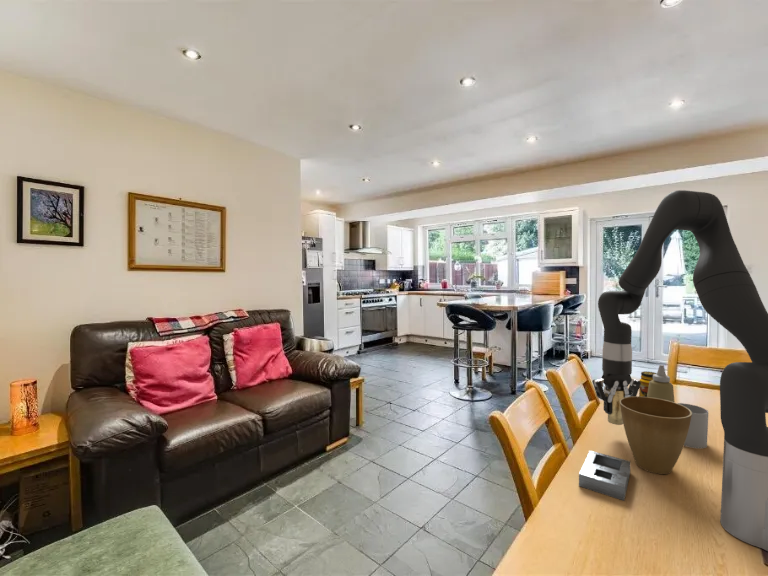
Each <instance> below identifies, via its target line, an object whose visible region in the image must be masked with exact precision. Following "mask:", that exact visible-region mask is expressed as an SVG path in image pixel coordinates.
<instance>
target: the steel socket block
mask: <svg viewBox="0 0 768 576" xmlns="http://www.w3.org/2000/svg"><path fill="white" fill-rule="evenodd" d="M630 475H631V460H627V459H623V458H619V457H616V456H612V455H609V454H605V453H601V452H597V451H593V450H588V453H587V455H586V457H585V460H584V462H583V464H582V466H581V469H580V470H579V473H578V487H581V488H583V489H587V490H590V491H592V492H595V493H598V494H602V495H605V496H608V497H612V498H614V499H618V500H620V501H625V499H626V494H627V490H628V485H629V480H630Z"/></svg>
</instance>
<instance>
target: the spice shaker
mask: <svg viewBox="0 0 768 576" xmlns="http://www.w3.org/2000/svg"><path fill="white" fill-rule="evenodd" d="M608 391H611V390H609V389H608ZM622 398H624V391H621V387H617V389H616V392H615V395H614V396H613V398H612V401H611V402H612V414H607V422H608V423H609V424H611V425H616V426H621V425H624V424H623V420H622V414H621V408H620V400H621V399H622Z"/></svg>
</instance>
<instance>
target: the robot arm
mask: <svg viewBox="0 0 768 576" xmlns="http://www.w3.org/2000/svg"><path fill="white" fill-rule="evenodd" d="M675 230H677V231H678V230H679V231H689V232H691V233H692V234H693V237H694V238H695V240H696V243H697V245H698V248H699V256H698V259H697V262H696V264H695V266H694V271H693V273H692V283H693V286H694V289H695V291H696V292H695V293H696V294H697V297H698V299H699V302H700V305H701V306H702V307H703V309H704V310H705V312H706V313H707V314H708V315H709V316H710V317H711V318H712V319H713V320H714V321H716V323H718V324H720V326H721V327H723V328H724V329H725V330H726V331H728V332H729V333H730V334H731V335H732V336H733V337H734V338H736V340H738V341H739V342H740V344H741V345H742V346H743V348H744V349H745V351H746V353H747V355H748V357H749V359H750V360H751V361H748V362H747V361H746V362H745V361H736V362H735V361H734V362H732V363H728V364H727V365H726V366H725V367H724V368H723V370H722V372H721V375H720V378H719V401H720V402H719V403H720V405H719V407H720V409H719V410H720V422H721V426H722V428H723V429H722V430H723V434H724V435H723V453H722V455H723V457H722V473H721V475H722V476H721V477H722V478H721V498H720V499H721V501H720V503H721V504H720V524H721V526H722V527H723V529H724V530H725V531H726V532H728V533H729V534H730V535H732V536H733V537H734V538H737V539H738V540H740V541H742V542H744V543H746V544H749V545H751V546H754V547H757V548H760V549H763V550H765V551H767V552H768V426H767V418H766V417H767V416H766V415H767V414H768V310H767V308H766V307H765V305H764V303H763V301H762V298H761V295H760V294H759V291H758V289H757V286H756V284H755V282H754V280H753V278H752V276H751V274H750V272H749V270H748V269H747V267H746V265H745V263H744V261H743V259H742V257H741V254H740V252H739V249H738V247H737V245H736V243H735V240H734V237H733V234H732V233H731V232H732V231H731V229H730V225H729V222H728V219H727V215H726V211H725V209H724V207H723V204H722V202H721V200H720V199H719V198H718V196H716V195H715V194H712V193H710V192H706V191H704V192H703V191H695V190H685V189H683V190H682V189H680V190H674V191H673V190H672V191H671V192H669V193H668V194H666V196H664V197H663V198H662V200H661V201H660V202H659V204H658V206H657V208H656V210H655V212H654V213H653V216H652V219H651V220H650V223H649V224H648V227H647V229H646V231H645V234H644V235H643V238H642V240H641V242H640V245H639V247H638V249H637V251H636V253H635V254H634V256H633V258H632V259H631V261H630V262H629V264H627V267H626V268H625V269H624V271H623V272H622V273H621V275H620V276H619V279H618V286H619V288H621V289H622V290H607V291H604V292H602V293H601V294H600V295H599V298H598V301H597V307H598V311H599V315H600V319H601V322H602V326H603V345H602V354H601V355H602V359H601V360H602V363H601V369H602V370H601V371H602V375H601V378H599V379H592V385H593V388H594V392H595V394H596V397H597V398H598V399H600V400H602V401H603V411H604V412H605V414H607V415H608V414H612V402H611V401H612V398H613V396H614V395H615V392H616V389H617V387H621V391H624V398H625V397H633V396H638V394H639V387H640V385H641V382H640V380H637V379H635V378H632V376H631V375H632V373H633V372H632V371H633V347H632V332H633V331H632V326H631V325H630V324H629V323H626V322H623V321H621V319H620V317H619V315H630V314H633V313H635V312H636V311H638V309H639V308H640V306H641V305H642V301H643V298H644V296H645V293H646V290H647V288H648V287H649V286H650V285H651V283H652V282H653V281H654V280H655V278H656V277H657V275H658V274H659V272H660V270H661V267H662V262H663V261H662V254H663V253H662V252H663V246H664V244H665V241H666V240H667V238H668V237H669V236H670V235H671V234H672V233H673V232H674V231H675ZM603 387H604V388H603ZM608 389H609V390H611V391H608Z"/></svg>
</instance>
